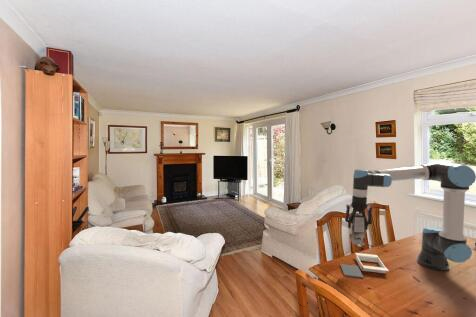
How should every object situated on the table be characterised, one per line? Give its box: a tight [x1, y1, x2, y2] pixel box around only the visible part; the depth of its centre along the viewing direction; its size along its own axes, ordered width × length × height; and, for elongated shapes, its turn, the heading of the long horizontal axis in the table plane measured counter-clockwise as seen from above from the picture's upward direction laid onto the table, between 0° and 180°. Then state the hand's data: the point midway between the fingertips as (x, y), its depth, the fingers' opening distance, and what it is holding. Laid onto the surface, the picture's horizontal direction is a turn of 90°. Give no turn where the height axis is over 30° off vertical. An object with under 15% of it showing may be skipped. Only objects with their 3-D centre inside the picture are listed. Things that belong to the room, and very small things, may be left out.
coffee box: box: [348, 212, 367, 246], centre depth 137 cm, size 9×6×16 cm
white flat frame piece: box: [354, 252, 390, 274], centre depth 143 cm, size 13×19×3 cm
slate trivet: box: [339, 263, 365, 279], centre depth 137 cm, size 10×12×1 cm
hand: (357, 234), depth 138 cm, fingers closed on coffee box, 6 cm apart
